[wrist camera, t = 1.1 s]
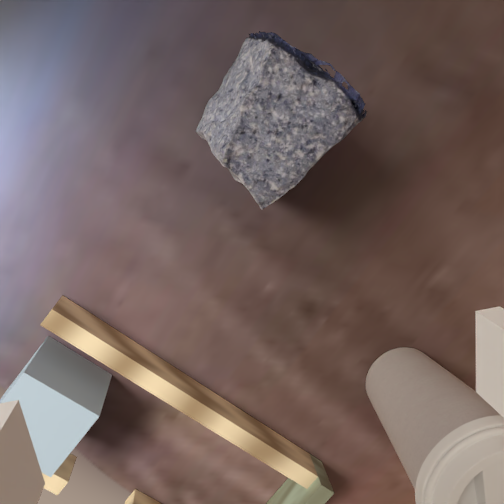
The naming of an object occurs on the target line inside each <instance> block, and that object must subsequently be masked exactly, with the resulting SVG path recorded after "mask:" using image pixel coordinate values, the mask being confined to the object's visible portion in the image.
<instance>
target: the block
mask: <svg viewBox="0 0 504 504" xmlns="http://www.w3.org/2000/svg"><path fill="white" fill-rule="evenodd" d="M111 377H112V374H110V373H108V372H107V371H105V370H103V369H102V368H100V367H99V366H97V365H95V364H94V363H92V362H90V361H89V360H87V359H85V358H84V357H82V356H81V355H79V354H77V353H76V352H74V351H72V350H71V349H69V348H67V347H66V346H64V345H63V344H61V343H59V342H58V341H56V340H54V339H53V338H51V337H49V336H48V337H47V338H46V339H45V341H44V342H43V343H42V345H41V346H40V347H39V349H38V350H37V351H36V353H35V354H34V355H33V357H32V358H31V359H30V361H29V362H28V363H27V364H26V366H25V367H24V368H23V370H22V371H21V372H20V374H19V375H18V376H17V378H16V379H15V380H14V382H13V383H12V384H11V385H10V387H9V388H8V389H7V391H6V392H5V393H4V395H3V396H2V398H1V399H0V403H5V402H10V401H15V400H19V403H20V406H21V409H22V412H23V415H24V418H25V421H26V425H27V428H28V431H29V434H30V437H31V440H32V443H33V447H34V450H35V453H36V456H37V459H38V462H39V465H40V469H41V472H42V473H44V474H45V475H47V476H49V477H52V475H53V474H54V473H55V472H56V470H57V469H58V468H59V467H60V465H61V464H62V463H63V462H64V460H65V459H66V458H67V457H68V455H69V454H70V453H71V451H72V450H73V449H74V448H75V446H76V445H77V444H78V443H79V441H80V440H81V439H82V438H83V436H84V435H85V434H86V433H87V431H88V430H89V429H90V428H91V426H92V425H93V424H94V423H95V421H96V420H97V419H98V418H99V416H100V413H101V410H102V407H103V403H104V400H105V397H106V394H107V390H108V387H109V384H110V380H111Z"/></svg>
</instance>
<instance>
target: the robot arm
mask: <svg viewBox="0 0 504 504" xmlns="http://www.w3.org/2000/svg"><path fill="white" fill-rule="evenodd" d="M476 393H478V394H479V395H480V396H481V397H482V398H483V399H484V400H485V401H486V402H487V403H488V404H489V405H491V406H492V407H493V408H494V409H495V410H496V411H497V412H498V413H499V414H500V415H501V416H502V417H504V309H503V308H502V307H500V306H499V307H494V308H489V309H484V310H479V311H476ZM44 485H45V481H44V478H43V475H42V472H41V469H40V465H39V462H38V459H37V456H36V453H35V450H34V447H33V443H32V440H31V437H30V434H29V431H28V428H27V425H26V421H25V418H24V415H23V412H22V409H21V406H20V403H19V400H15V401H10V402H5V403H0V504H37V503H38V501H39V498H40V496H41V493H42V490H43V488H44Z"/></svg>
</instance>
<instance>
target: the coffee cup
mask: <svg viewBox="0 0 504 504" xmlns="http://www.w3.org/2000/svg"><path fill="white" fill-rule="evenodd" d="M366 392H367V395H368V397H369V399H370V401H371V403H372V405H373V407H374V409H375V411H376V413H377V415H378V417H379V419H380V421H381V423H382V425H383V427H384V429H385V431H386V433H387V435H388V437H389V439H390V441H391V443H392V445H393V447H394V449H395V451H396V453H397V455H398V457H399V459H400V461H401V463H402V465H403V467H404V469H405V471H406V473H407V475H408V477H409V479H410V481H411V483H412V485H413V487H414V489H415V501H416V504H504V417H502V416H501V415H500V414H499V413H498V412H497V411H496V410H495V409H494V408H493V407H492V406H491V405H489V404H488V403H487V402H486V401H485V400H484V399H483V398H482V397H481V396H480V395H479V394H478V393H476V391H475V390H473V389H472V388H471V387H469V386H468V385H466V384H465V383H464V382H462V381H461V380H460V379H458V378H457V377H455V376H454V375H453V374H451V373H450V372H449V371H447V370H446V369H445V368H443V367H442V366H440V365H439V364H438V363H436V362H435V361H434V360H432V359H431V358H430V357H428V356H427V355H425V354H424V353H423V352H421V351H419V350H417V349H414V348H409V347H401V348H396V349H392V350H390V351H388V352H386V353H384V354H383V355H381V356H380V357H379V358H378V359H377V360H376V361H375V362H374V363H373V364H372V366H371V367H370V369H369V371H368V374H367V377H366Z"/></svg>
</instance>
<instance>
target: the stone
mask: <svg viewBox="0 0 504 504" xmlns="http://www.w3.org/2000/svg"><path fill="white" fill-rule="evenodd" d="M249 35H250V37H249V38H246V40H245V41H244V43H243V45H242V47H241V50H240V53H239V55H238V57H237V59H236V61H234V62H233V65H232V66H231V67H230V69H229V71H228V73H227V74H226V75H225V77H224V78H223V83H222V85H221V87H220V89H219V90H218V91H217V92H216V93H215V95H214V96H213V97H212V98H211V99H210V100H209V101H208V103H207V105H206V107H205V110H204V114H203V116H202V119H201V121H200V123H199V125H198V127H197V129H196V132H197V133H198V135H199V136H200V137H201V138H202V139H205V140H206V141H208V143H209V146H210V148H211V151H212V153H213V154H214V156H215V157H216V158H217V159H218V160H219V161H220V162H221V164H222V165H223V167H225V168H227V169H229V171H230V172H231V174H232V176H233V178H234V179H235V180H236V181H238V182H240V183H242V184H243V185H244V186H245V187H246V188H247V189H248V190H249V192H250V193H251V195H252V196H253V197H254V199H255V201H256V202H257V204H258V205H259V206H260V209H264V208H265V207H267V206H268V205H270V204H272V203H273V202H275V201H276V200H277V199H279V198H280V197H282V196H283V195H284V194H285V193H286V192H287V191H288V190H290V189H292V188H293V187H295V186H296V185H297V184H298V183H299V182H300V181H301V179H302V178H303V177H304V176H305V175H306V173H307V171H308V170H309V169H311V168H312V167H313V166H314V165H315V164H316V163H317V162H318V161H319V160H320V158H321V157H322V156H323V155H324V154H325V153H326V152H327V151H329V150H330V149H331V148H332V147H333V146H334V145H336V144H337V143H339V142H340V141H341V140H343V139H344V138H345V137H346V136H347V134H348V133H349V132H350V131H351V130H352V129H353V128H354V127H355V126H356V125H357V124H358V123H359V122H361V121H362V120H363V119H364V118H365V117H366V110H365V112H363V111H364V110H363V109H364V106H365V103H364V102H363V100H362V98H361V97H360V93H358V92H357V91H356V90H355V89H354V88H353V87H352V86H351V85H350V84H349V83H348V82H347V81H346V80H345V78H344V77H343V76H342V75H341V74H340V73H338V72H337V71H336V70H335V69H334V68H333V66H332V65H331V64H330V63H327V62H324V61H321V60H318V59H316V58H315V57H314V56H313V55H312V54H309V53H304V52H302V51H299V50H298V49H297V48H295V47H292V46H291V45H290V44H288V43H287V42H286V41H284V40H283V39H281V37H279V36H278V35H277V34H275V33H272V32H271V33H265V32H260V31H259V34H258V33H255V34H252V33H251V34H249ZM319 65H330V66H331V67H332V69H333V70H334V71H336V73H335V76H334V78H332V77H331V76H330V74H329V73H328V72H325V71H323V69H322V68H321V67H320V66H319ZM326 71H327V69H326ZM343 82H345V83H347V84H348V90H347V89H345V87H343V86H342V83H343ZM362 113H364V114H362Z"/></svg>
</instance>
